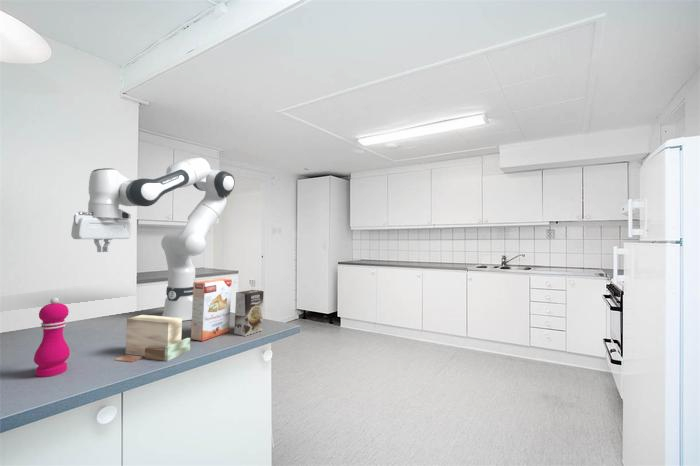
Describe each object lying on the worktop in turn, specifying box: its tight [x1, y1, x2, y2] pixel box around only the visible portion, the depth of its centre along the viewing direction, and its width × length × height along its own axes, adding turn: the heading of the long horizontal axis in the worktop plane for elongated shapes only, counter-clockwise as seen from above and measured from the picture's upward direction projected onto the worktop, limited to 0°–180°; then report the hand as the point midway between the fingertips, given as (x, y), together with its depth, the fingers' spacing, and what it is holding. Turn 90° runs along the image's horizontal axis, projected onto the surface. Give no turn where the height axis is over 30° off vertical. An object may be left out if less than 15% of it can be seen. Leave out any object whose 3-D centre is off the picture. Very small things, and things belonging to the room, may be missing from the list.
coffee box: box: [233, 289, 265, 337], centre depth 131 cm, size 9×6×16 cm
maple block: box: [125, 314, 183, 357], centre depth 106 cm, size 6×15×11 cm, turn 78°
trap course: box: [114, 337, 191, 363], centre depth 107 cm, size 17×21×4 cm
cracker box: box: [190, 278, 233, 342], centre depth 126 cm, size 14×6×21 cm, turn 158°
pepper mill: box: [33, 297, 71, 378], centre depth 90 cm, size 7×7×20 cm
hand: (102, 252), depth 119 cm, fingers closed
